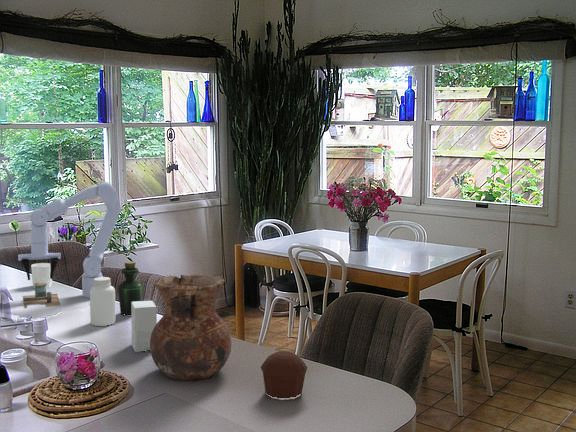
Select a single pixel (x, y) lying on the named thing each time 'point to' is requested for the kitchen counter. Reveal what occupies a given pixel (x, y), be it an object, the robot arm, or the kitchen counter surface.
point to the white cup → (41, 273)
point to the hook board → (42, 300)
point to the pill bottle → (102, 302)
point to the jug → (190, 328)
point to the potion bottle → (129, 288)
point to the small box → (142, 324)
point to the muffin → (283, 374)
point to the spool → (40, 289)
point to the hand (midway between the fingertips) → (40, 279)
